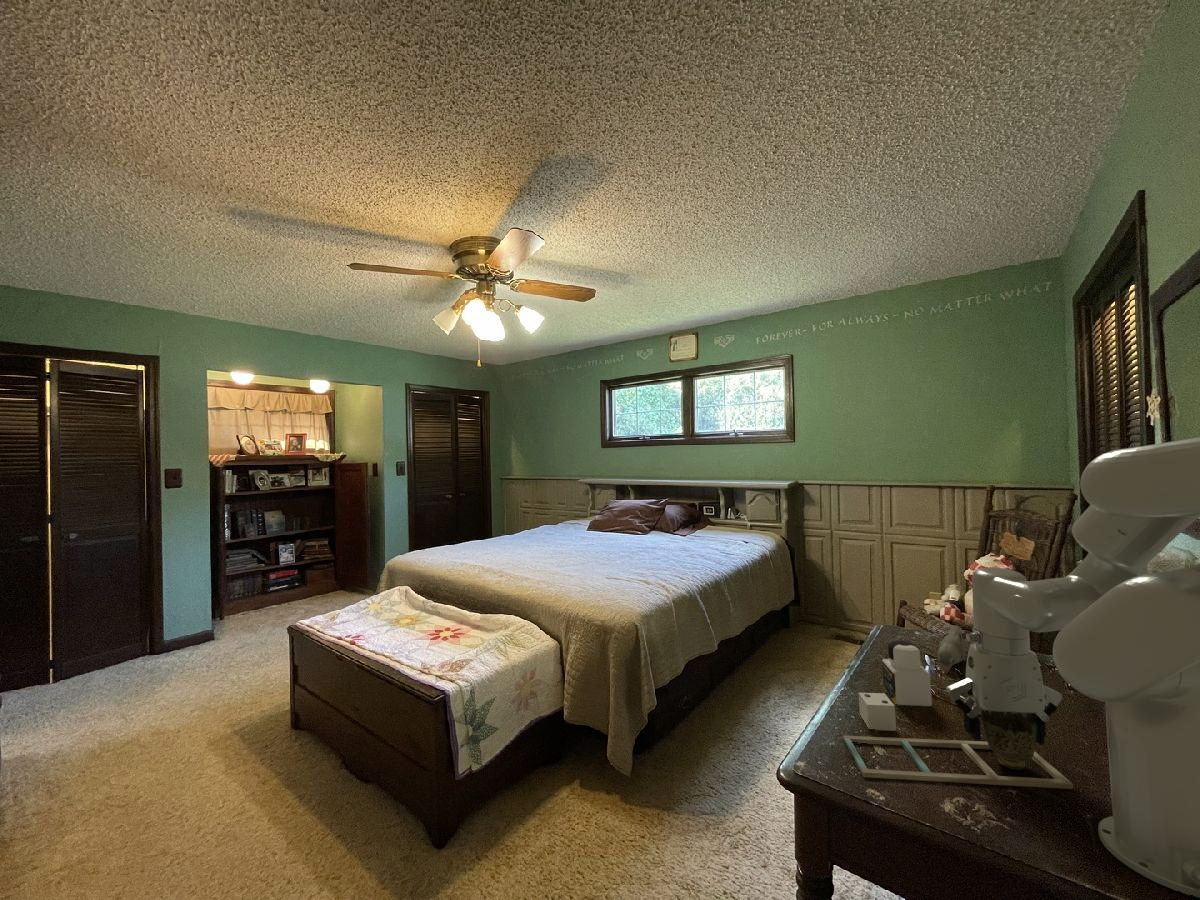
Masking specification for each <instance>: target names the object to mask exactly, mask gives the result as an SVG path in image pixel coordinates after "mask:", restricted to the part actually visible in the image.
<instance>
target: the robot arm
mask: <svg viewBox="0 0 1200 900" xmlns="http://www.w3.org/2000/svg"><path fill="white" fill-rule="evenodd" d="M1079 483H1080V484H1079V486H1080V491H1081V494H1082V497H1084V500H1085V501H1086V502H1087V503H1088V504H1089V506H1088V507H1087V509H1085V510H1084V511H1083V513H1082V514H1081V515H1080V516H1079V517H1078V518H1077V519H1076V520H1075V522H1073V524H1072V526H1071V535H1072V537H1073V539H1074V540H1075V542H1077V544H1079V546H1080V547H1082V548H1083V550H1085V551H1086V552H1087V555H1086V556H1085V558H1083V560H1082V561H1081V562H1080V563H1079V564H1078V565H1077V566H1076V567H1075V568H1073V570H1072V571H1071V572H1069V573H1068V575H1066V576H1064V577H1055V578H1047V579H1038V580H1029V581H1028V580H1027V577H1025V576H1024V575H1023V574H1022V573H1020V572H1019V571H1016V570H1012V569H1008V568H1001V567H980V568H977V569H975V570H974V571H973V573H972V576H971V586H972V588H971V590H972V592H971V593H972V617H973V620H972V621H973V627H972V632H971V633H965V639H966V641H967V642H971V643H970V646H969V649H968V651H967V652H968V654H967V657H966V658H967V659H966V665H965V679H962V680H960V681H957V682H955V683H952V684H951V685H947V686H946V687H945V690H946V692H947V694H948V695H949V697H950V698H951V701H952V702H953V703H954V704H955V705H956V706H957V707H958V708H959V709H960V710H961V711H962V712H963V727H964V730H965V732H966V733H967V734H968V735H969V736H970V737H971V738H972V739H973V741H981V740H982V738H981V719H980V718H979V717H978V716H979V714H981V711H985V710H986V711H989V712H990V711H992V712H1004V713H1007V712H1011V713H1014V714H1015V713H1021V714H1026V717H1027V718H1028V721H1029V723H1030V724H1032V725H1033V723H1036V726H1037V734H1036V744H1038V745H1042V746H1044V745H1045V737H1046V722H1049V721H1050V716H1052V715H1053V714H1054V713H1055V712H1056V711H1057V709H1058V707H1057V706H1058V705H1059V704H1060V702H1061V701H1062V699H1063V695H1062V694H1061V693H1059V692H1058V691H1056V690H1055V689H1053V688H1050V687H1048V686H1046V685H1044V681H1043V675H1042V671H1041V666H1040V663H1039V660H1038V656H1037V654H1036V652H1035V651H1033V650H1031V641H1030V637H1031V636H1030V632H1034V633H1048V632H1056V631H1059V632H1058V634H1057V635H1056V636H1055V638H1054V641H1053V645H1052V658H1053V663H1054V666H1055V668H1056V669H1057V672H1058V673H1059V675H1060V676H1061V678H1062V679H1063V680H1064V681H1065V682H1066V683H1067V684H1068V685H1069V686H1070V687H1071V688H1073V689H1074V690H1076V691H1077V692H1079V693H1080V694H1082V695H1084V696H1086V697H1088V698H1091V699H1094V700H1097V701H1099V702H1105V703H1106V704H1105V705H1106V706H1105V721H1106V738H1107V739H1106V741H1107V750H1108V751H1107V754H1108V767H1109V778H1110V781H1109V782H1110V793H1111V806H1112V816H1108V817H1105V818H1102V820H1100V821H1099V823H1098V826H1097V827H1098V828H1097V831H1098V836H1099V840H1100V841H1101V843H1102V844H1103V846H1104V848H1106V850H1107V851H1108V852H1109V853H1110V854H1111V855H1113V857H1115V858H1116V859H1117V860H1119V861H1120V862H1121V863H1123V864H1124V865H1126V866H1127V867H1128V868H1130V869H1131V870H1133V871H1134V872H1136V873H1137V874H1140V875H1141V876H1143V877H1144V878H1147V879H1149V880H1151V881H1152V882H1155V883H1156V884H1158V885H1161V886H1163V887H1166V888H1168V889H1171V890H1173V891H1176V892H1178V891H1180V892H1179V893H1181V892H1182V894H1184V895H1187V896H1190V895H1193V896H1192V897H1194V896H1195V898H1199V899H1200V563H1198V564H1195V565H1192V566H1188V567H1183V568H1179V569H1173V570H1172V569H1171V570H1165V571H1164V570H1163V571H1156V572H1151V573H1148V564H1149V563H1150V562H1151V561H1152V560H1153V559H1154V558H1155V557H1156V556H1158V554H1160V552H1162V551H1163V550H1164V549H1165V548H1166V547H1167V546H1168V545H1169V544H1170V543H1171V542H1173V540H1174V539H1176V537H1178V536H1179V535H1180V534H1181V533H1182V532H1183V531H1184V530H1185V529H1187V528H1188V527H1190V526H1191V525H1192V524H1193V523H1194V522H1195V521H1196V520H1197V519H1198V518H1199V517H1200V436H1197V437H1189V438H1185V439H1178V440H1174V441H1173V440H1172V441H1167V442H1160V443H1154V444H1148V445H1142V446H1141V445H1140V446H1133V447H1127V448H1117V449H1114V450H1110V451H1107V452H1104V453H1102V454H1100V455H1098V456H1097V457H1095V458H1094V459H1093V460H1091V461H1090V462H1089V463H1088V464H1087V466H1085V468H1084V470H1083V471H1082V473H1081V477H1080V481H1079ZM965 692H966V695H967V697H966V698H965V699H962V698H961V694H963V693H965Z"/></svg>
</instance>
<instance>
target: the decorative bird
mask: <svg viewBox="0 0 1200 900" xmlns="http://www.w3.org/2000/svg"><path fill="white" fill-rule="evenodd" d="M962 632H963V628H962V627H960V626H959V625H952V626H951V628H949V630H948V632H947V633H944V634H943V635H942V637H941V638H940V641H939V643H938V651H937V660H938V663H939V666H940V668H941V670H942V672H943V673H944V674H948V673H949V671H951V669H952V667H953V666H954V665H956V664H960V663H961V662H963V661H964V659H965V656H966V654H967V655H968V652H969V651H967V647H966V641H965V638H964V636H963V635H962Z"/></svg>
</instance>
